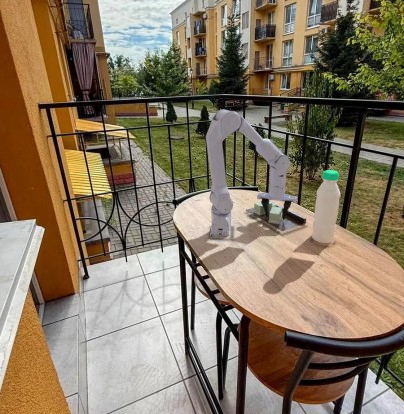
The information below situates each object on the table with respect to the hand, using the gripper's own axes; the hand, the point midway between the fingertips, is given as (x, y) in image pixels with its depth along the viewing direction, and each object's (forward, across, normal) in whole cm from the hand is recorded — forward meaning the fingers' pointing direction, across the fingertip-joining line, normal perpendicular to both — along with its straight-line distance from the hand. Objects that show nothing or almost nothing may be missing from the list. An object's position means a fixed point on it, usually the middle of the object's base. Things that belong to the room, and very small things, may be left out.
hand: (275, 217), depth 109 cm
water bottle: (+3, -17, +9) cm, 20 cm away
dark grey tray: (+2, +1, -3) cm, 4 cm away
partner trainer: (+1, +6, -6) cm, 8 cm away
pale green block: (+1, 0, 0) cm, 1 cm away
